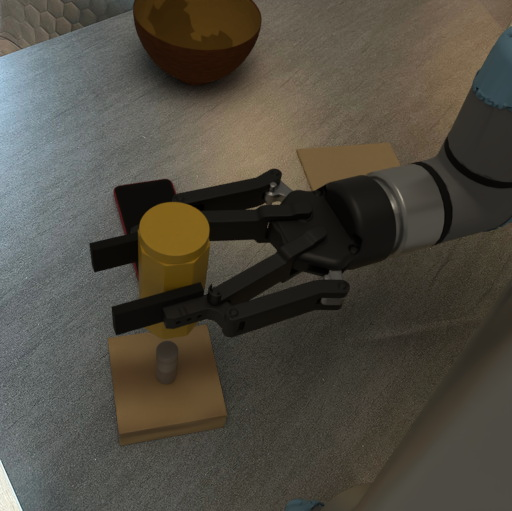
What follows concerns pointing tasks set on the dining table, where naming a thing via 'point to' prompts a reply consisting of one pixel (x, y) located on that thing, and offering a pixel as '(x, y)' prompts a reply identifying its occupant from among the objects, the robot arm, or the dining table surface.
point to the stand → (165, 385)
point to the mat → (344, 162)
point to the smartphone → (141, 202)
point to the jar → (172, 254)
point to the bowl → (197, 36)
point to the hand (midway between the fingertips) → (103, 288)
